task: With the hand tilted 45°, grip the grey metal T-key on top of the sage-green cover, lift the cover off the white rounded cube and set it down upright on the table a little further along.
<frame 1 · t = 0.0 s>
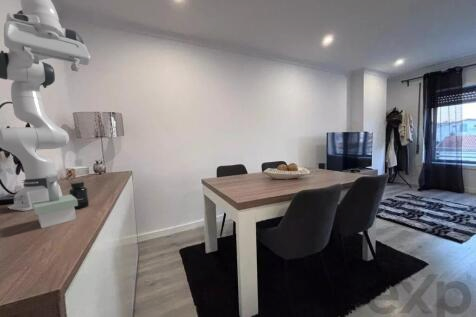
hand: (56, 66, 63), 54 cm above the sideboard, tool tilted 30°, fingers open, 8 cm apart
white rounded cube: (57, 220, 81), on the sideboard
cover: (55, 207, 80), point 5 cm above the sideboard, touching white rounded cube
supplement bottle: (80, 207, 97), on the sideboard
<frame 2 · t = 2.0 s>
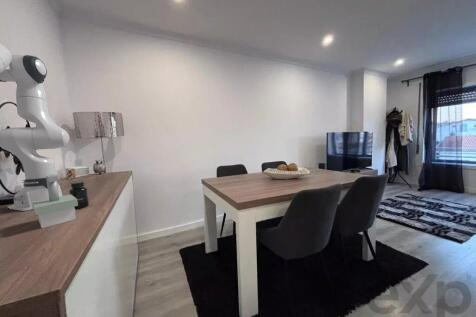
nothing on the sideboard moved.
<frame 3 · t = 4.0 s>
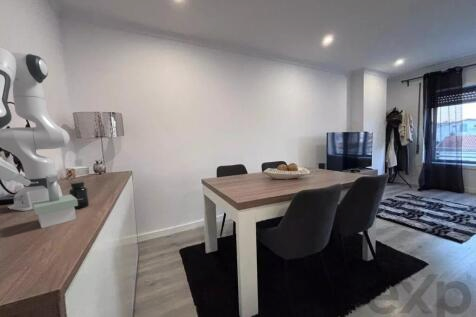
hand: (28, 182, 74), 17 cm above the sideboard, tool tilted 45°, fingers open, 8 cm apart
nothing on the sideboard moved.
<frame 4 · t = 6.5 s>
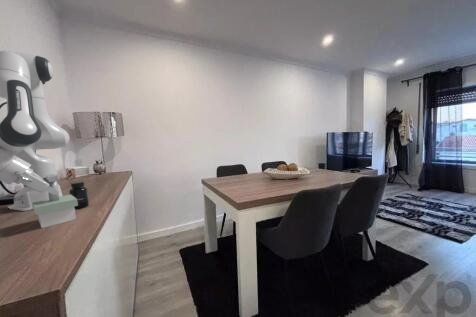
hand: (55, 192, 80), 11 cm above the sideboard, tool tilted 45°, fingers closed on cover, 3 cm apart
cover: (55, 207, 80), point 5 cm above the sideboard, touching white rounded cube, gripper
everything else where it was.
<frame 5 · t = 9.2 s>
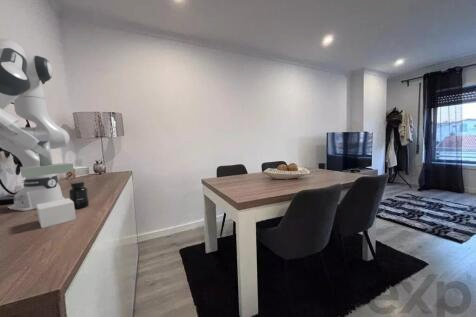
hand: (47, 155, 69), 26 cm above the sideboard, tool tilted 45°, fingers closed on cover, 3 cm apart
cover: (47, 173, 69), point 20 cm above the sideboard, touching gripper
everything else where it was.
when the fingers open (7 cm above the sideboard, at t = 12.3 s): cover stays where it is, on the sideboard.
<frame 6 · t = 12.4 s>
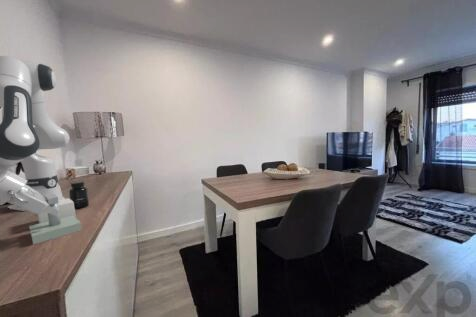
hand: (55, 210, 70), 7 cm above the sideboard, tool tilted 45°, fingers open, 6 cm apart
cover: (56, 231, 70), on the sideboard, touching gripper
everything else where it was.
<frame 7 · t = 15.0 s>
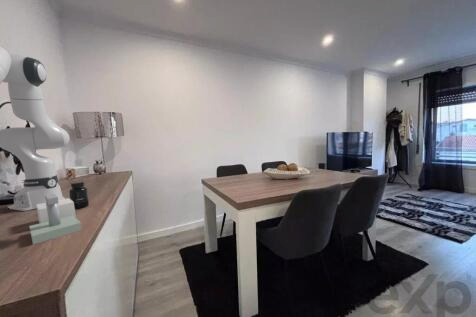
hand: (8, 188, 62), 17 cm above the sideboard, tool tilted 45°, fingers open, 8 cm apart
cover: (56, 231, 70), on the sideboard
everything else where it was.
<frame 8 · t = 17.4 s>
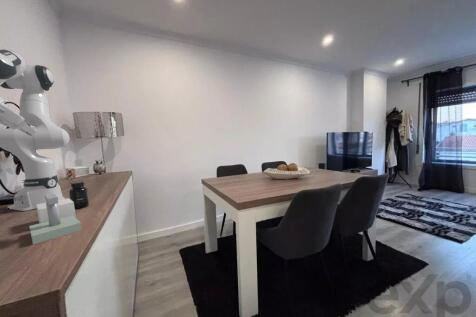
hand: (33, 134, 76), 34 cm above the sideboard, tool tilted 45°, fingers open, 8 cm apart
nothing on the sideboard moved.
at the end: cover inside the target area (0.1 cm from its centre), on the sideboard; cover tilted 0°; cover touching sideboard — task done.
